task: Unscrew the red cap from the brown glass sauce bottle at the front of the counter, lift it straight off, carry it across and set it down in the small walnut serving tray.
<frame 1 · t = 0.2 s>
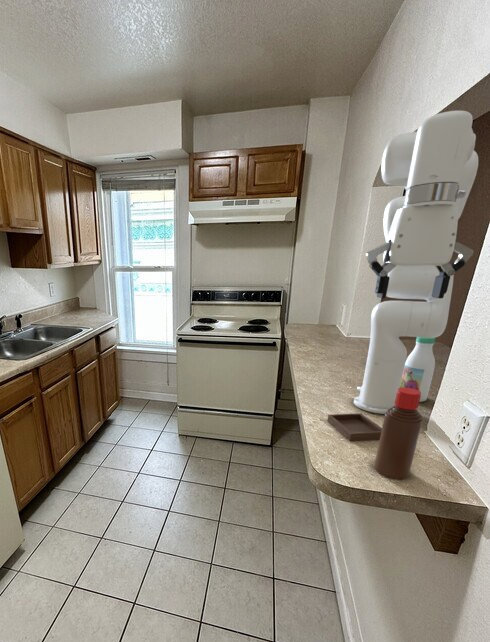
hand: (408, 297, 68), 36 cm above the worktop, tool pointing down, fingers open, 9 cm apart
sauce bottle: (391, 470, 76), on the worktop
tray: (354, 429, 94), on the worktop
milk bottle: (411, 398, 113), on the worktop
cap: (408, 392, 70), point 18 cm above the worktop, screwed on, not yet turned
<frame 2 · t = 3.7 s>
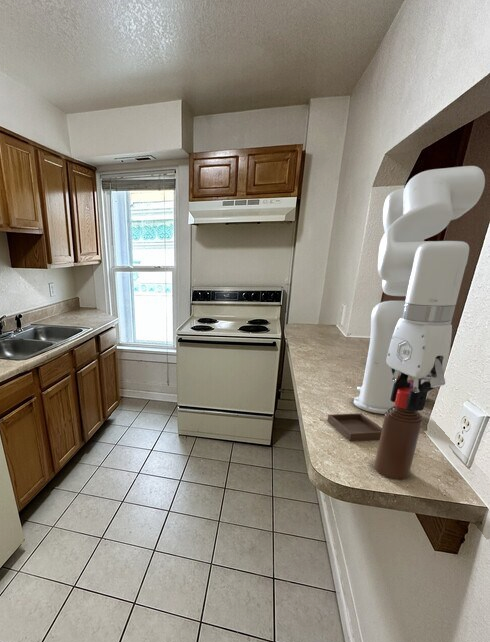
hand: (406, 404, 71), 16 cm above the worktop, tool pointing down, fingers closed on cap, 3 cm apart
cap: (408, 392, 70), point 18 cm above the worktop, screwed on, not yet turned, touching gripper
everything else where it was.
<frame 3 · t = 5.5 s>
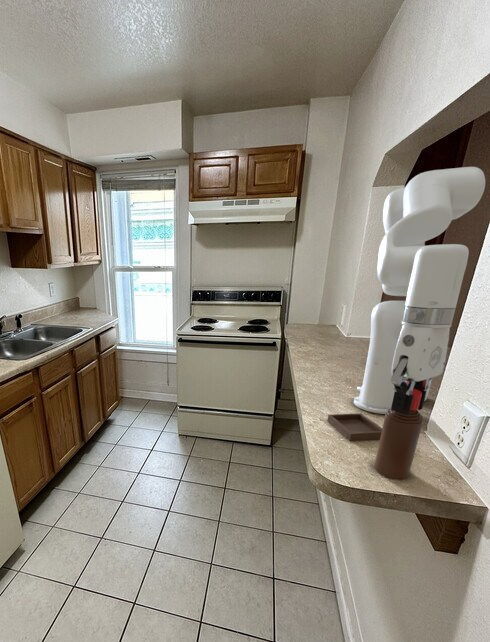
hand: (406, 408, 70), 15 cm above the worktop, tool pointing down, fingers closed on cap, 3 cm apart
sauce bottle: (391, 469, 76), on the worktop, touching gripper
cap: (409, 393, 69), point 18 cm above the worktop, turned 116° so far, risen 0.1 cm, still on its thread, touching gripper
everything else where it was.
when the fingers open (15 cm above the worktop, at t = 10.9 s): cap stays where it is, point 18 cm above the worktop.
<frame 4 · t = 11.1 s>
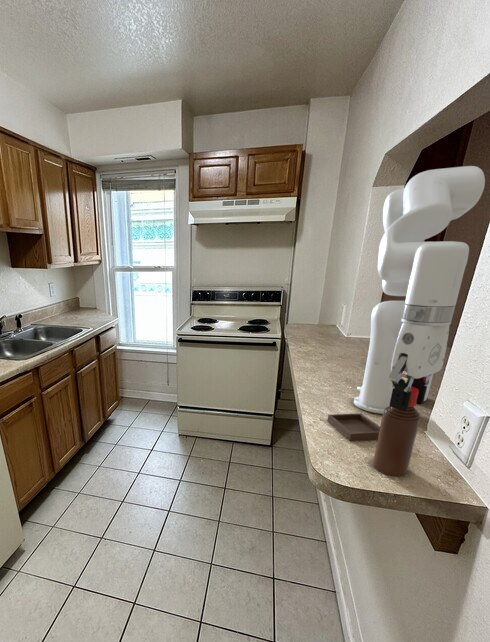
hand: (406, 404, 71), 16 cm above the worktop, tool pointing down
sauce bottle: (389, 467, 77), on the worktop
cap: (406, 390, 71), point 18 cm above the worktop, turned 116° so far, risen 0.1 cm, still on its thread, touching gripper
everything else where it was.
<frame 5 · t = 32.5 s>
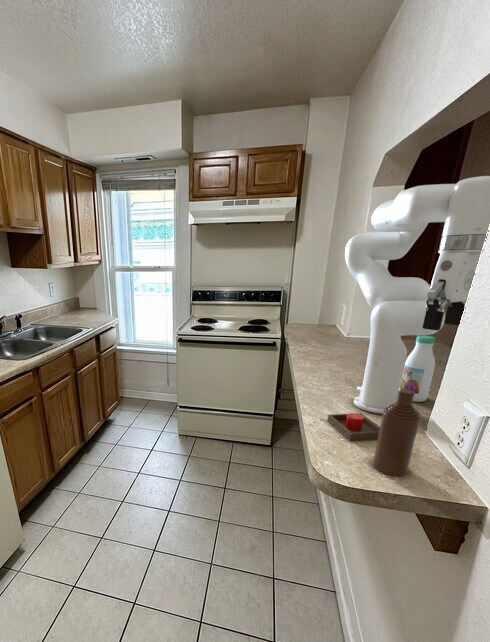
hand: (441, 326, 79), 28 cm above the worktop, tool pointing down, fingers open, 9 cm apart
cap: (355, 417, 93), point 3 cm above the worktop, off its thread, touching tray
everything else where it was.
at the end: cap came off its thread; cap inside the target area on the tray (0.4 cm from its centre), point 3.4 cm above the tray's base; the gripper is holding nothing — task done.
